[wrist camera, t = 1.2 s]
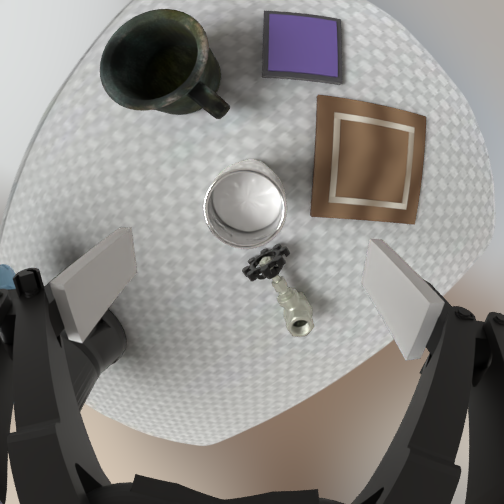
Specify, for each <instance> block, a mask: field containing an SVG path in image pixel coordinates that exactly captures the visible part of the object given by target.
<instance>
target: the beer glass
mask: <svg viewBox="0 0 504 504" xmlns="http://www.w3.org/2000/svg"><path fill="white" fill-rule="evenodd" d="M286 215H287V203H286V195H285V191H284V187H283V185H282V182H281V181H280V179H279V177H278V176H277V175H276V174H275V173H274V172H273V171H272V170H271V169H270V168H269V167H268V166H267V165H266V164H265V163H263V162H261V161H259V160H255V159H247V160H243V161H241V162H237V163H235V164H232V165H230V166H228V167H227V168H225V169H224V170H223V171H221V172H220V173H219V174H218V176H217V177H216V178H215V179H214V181H213V182H212V184H211V186H210V187H209V189H208V191H207V193H206V196H205V199H204V217H205V220H206V223H207V225H208V227H209V229H210V230H211V232H212V233H213V234H214V235H215V236H216V237H217V238H218V239H219V240H220V241H222V242H223V243H225V244H227V245H229V246H232V247H235V248H241V249H251V248H256V247H260V246H262V245H264V244H266V243H268V242H270V241H271V240H272V239H273V238H274V237H276V235H277V234H278V233H279V232H280V230H281V229H282V227H283V225H284V222H285V219H286Z"/></svg>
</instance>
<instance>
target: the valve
mask: <svg viewBox="0 0 504 504" xmlns="http://www.w3.org/2000/svg"><path fill="white" fill-rule="evenodd" d="M260 253H261V255H260V256H258V257H257V258H255V257H253V258H251V259H249V260H248V263H249V264H250V266H246V267H245V268H243V270H242V272H243V273H244V275H245V276H246V277H248V278H249V279H250V281H254V280H256V279H257V278H258V279H265V278H266V277H267V278H268V279H271V278H272V280H273V281H272V286H273V287H274V289H275V290H276V292H279V296H278V298H277V301H278V303H279V304H280V306H281V307H284V312H283V315H284V319H285V321H286V327H287V329H288V331H289V332H290V334H291V335H292V336H295V337H302V336H307V335H308V334H309V333H310V332H311V330H312V329H313V328H314V323H313V319H312V315H313V313H312V308H311V306H310V304H309V303H308V301H307V299H306V297H305V295H304V294H303V292H297V291H296V289H295V288H290V287H288V286H287V282H286V281H285V279H284V278H283V276H279V275H278V274H279V272H280V271H281V269H282V268H283V265H284V264H285V263H286V262H285V260H284V258H283V257H282V255H284V254H285V256H286V257H287V256H288V255H289V254H290V252H289V250H288V249H287V247H281V245H280V244H277V245H275V246H274V247H273V249H272V250H270V251H268V249H263V250H262V251H261V252H260ZM273 255H275V257H274V258H273V259H271V257H270V256H273ZM258 264H260V266H261V267H259V268H256V266H257V265H258ZM276 264H277V265H278V266H277V265H276ZM260 273H262V275H259V274H260Z"/></svg>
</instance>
